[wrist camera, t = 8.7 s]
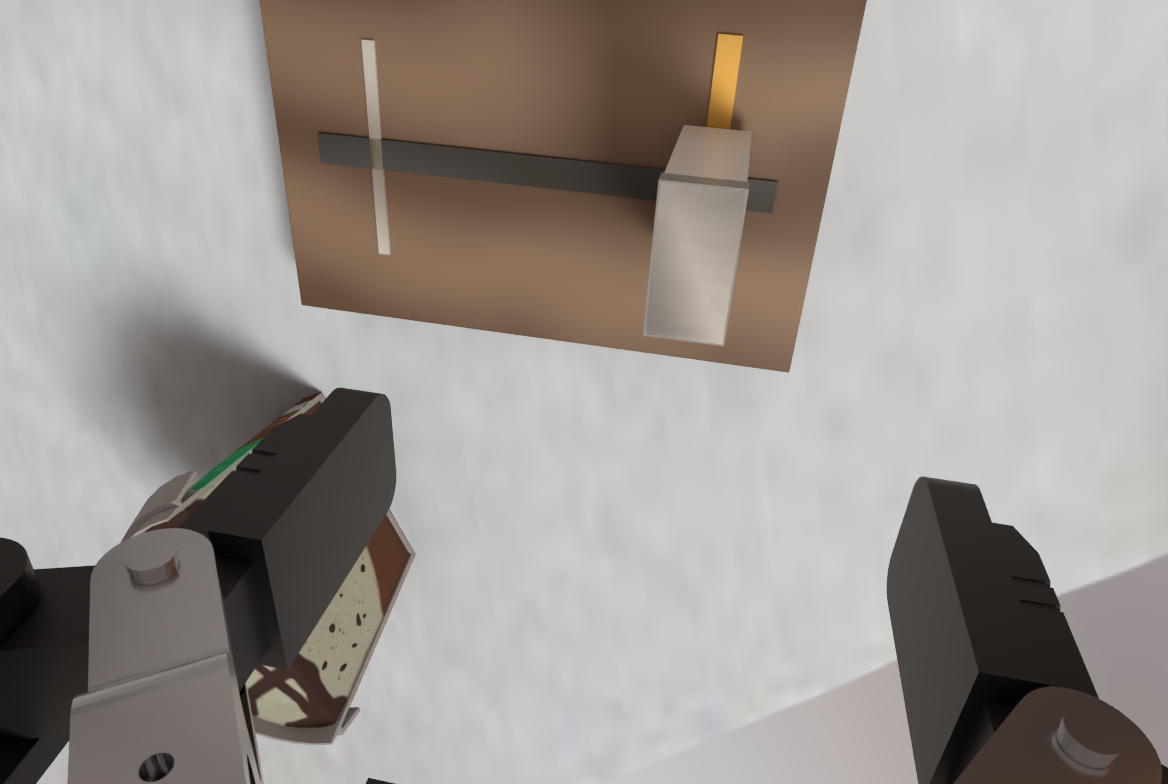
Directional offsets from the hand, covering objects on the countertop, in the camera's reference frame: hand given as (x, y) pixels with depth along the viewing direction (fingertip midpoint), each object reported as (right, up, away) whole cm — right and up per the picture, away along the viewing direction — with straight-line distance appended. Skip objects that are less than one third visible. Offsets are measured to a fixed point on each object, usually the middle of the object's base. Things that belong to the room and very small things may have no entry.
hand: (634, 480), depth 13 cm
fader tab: (+3, +7, +13) cm, 15 cm away
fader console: (-2, +10, +16) cm, 19 cm away
